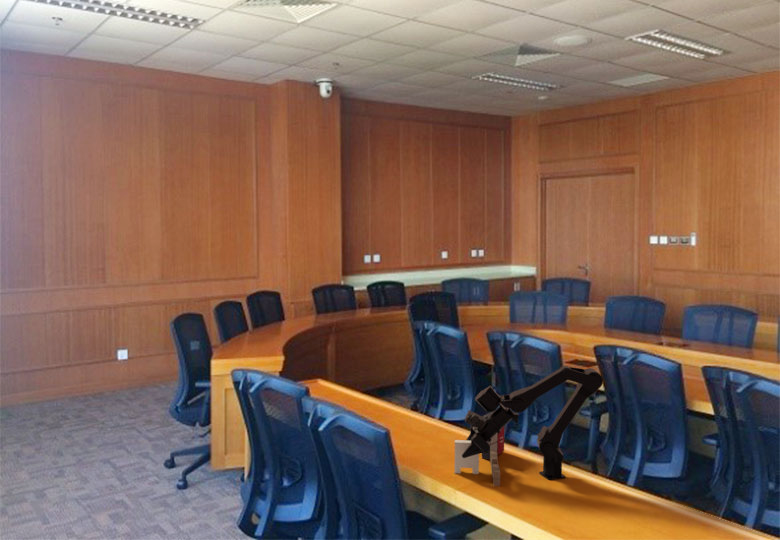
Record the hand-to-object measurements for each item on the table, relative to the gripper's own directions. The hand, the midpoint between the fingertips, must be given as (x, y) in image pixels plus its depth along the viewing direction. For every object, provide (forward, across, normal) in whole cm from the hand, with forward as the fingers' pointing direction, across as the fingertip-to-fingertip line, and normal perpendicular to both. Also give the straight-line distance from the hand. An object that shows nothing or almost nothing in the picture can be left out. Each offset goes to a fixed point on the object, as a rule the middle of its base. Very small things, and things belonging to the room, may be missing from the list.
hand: (462, 452), depth 222 cm
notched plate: (+4, 0, +6) cm, 7 cm away
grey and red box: (-3, -18, +13) cm, 22 cm away
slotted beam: (-3, 0, +12) cm, 13 cm away
